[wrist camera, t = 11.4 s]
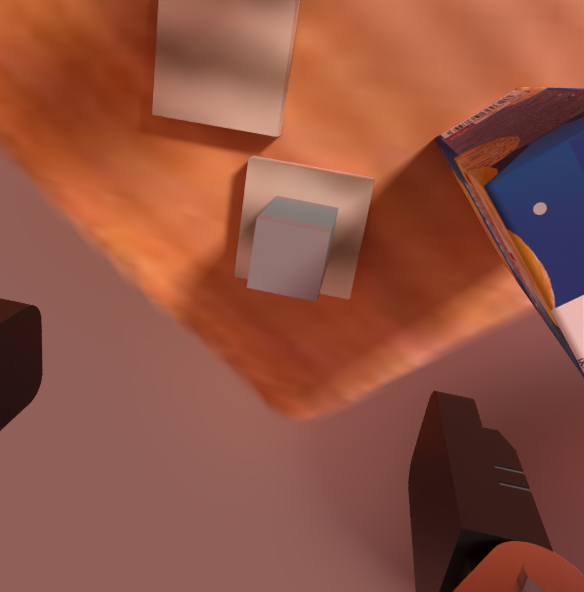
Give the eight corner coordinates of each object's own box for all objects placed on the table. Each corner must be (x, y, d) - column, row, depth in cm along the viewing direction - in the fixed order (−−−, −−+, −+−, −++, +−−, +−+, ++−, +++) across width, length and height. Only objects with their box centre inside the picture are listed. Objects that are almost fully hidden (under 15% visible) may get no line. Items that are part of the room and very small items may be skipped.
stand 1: (170, -26, 41) (160, -31, 39) (301, -6, 41) (297, -10, 39) (161, 113, 45) (152, 114, 43) (281, 134, 44) (277, 136, 42)
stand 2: (253, 155, 45) (248, 158, 43) (374, 177, 44) (374, 181, 43) (239, 269, 49) (233, 276, 47) (350, 291, 48) (349, 299, 46)
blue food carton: (498, 255, 45) (595, 395, 25) (433, 137, 43) (483, 186, 22) (581, 212, 43) (761, 327, 23) (518, 85, 41) (657, 88, 20)
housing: (277, 195, 44) (256, 218, 37) (338, 207, 44) (330, 233, 36) (267, 254, 46) (246, 287, 39) (326, 266, 46) (316, 302, 38)
